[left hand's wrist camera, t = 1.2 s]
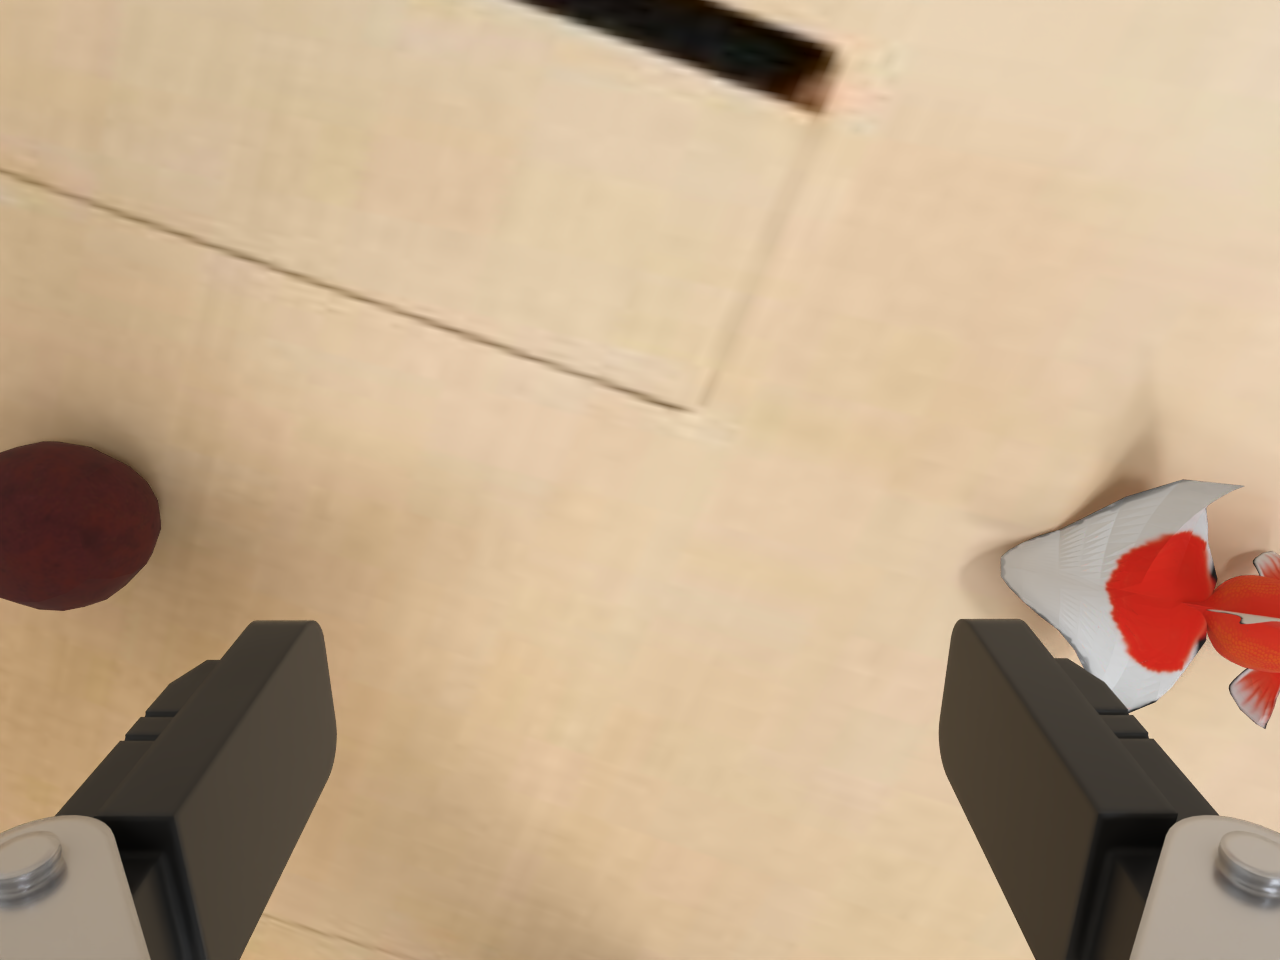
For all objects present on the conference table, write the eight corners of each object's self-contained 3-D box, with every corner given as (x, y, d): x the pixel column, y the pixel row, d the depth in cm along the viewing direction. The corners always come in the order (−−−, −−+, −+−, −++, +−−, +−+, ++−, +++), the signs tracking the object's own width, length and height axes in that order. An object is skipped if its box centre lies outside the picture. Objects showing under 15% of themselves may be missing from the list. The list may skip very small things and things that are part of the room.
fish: (1255, 803, 42) (1373, 856, 33) (948, 627, 47) (973, 628, 37) (1368, 605, 43) (1518, 601, 33) (1052, 448, 47) (1104, 403, 37)
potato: (-5, 430, 41) (-129, 486, 34) (162, 411, 40) (69, 464, 34) (52, 575, 43) (-54, 653, 37) (208, 558, 43) (130, 634, 36)
